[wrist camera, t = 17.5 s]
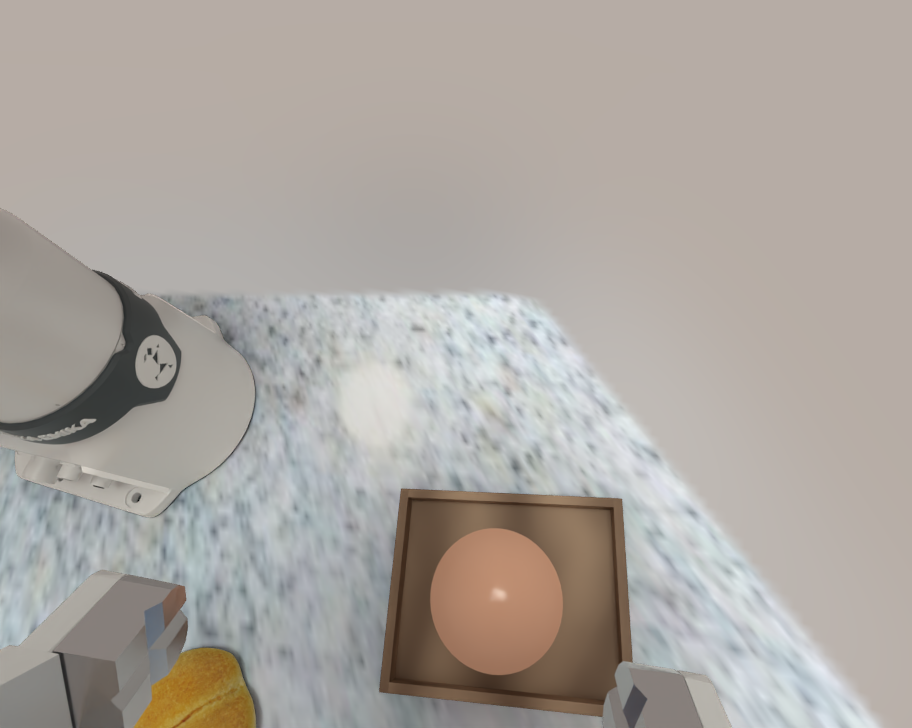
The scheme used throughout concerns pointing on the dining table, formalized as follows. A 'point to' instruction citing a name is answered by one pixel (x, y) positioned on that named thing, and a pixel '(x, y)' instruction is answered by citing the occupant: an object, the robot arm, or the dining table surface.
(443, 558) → the peach cylinder
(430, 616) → the tray
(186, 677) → the bread roll
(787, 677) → the dining table surface
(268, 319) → the dining table surface
